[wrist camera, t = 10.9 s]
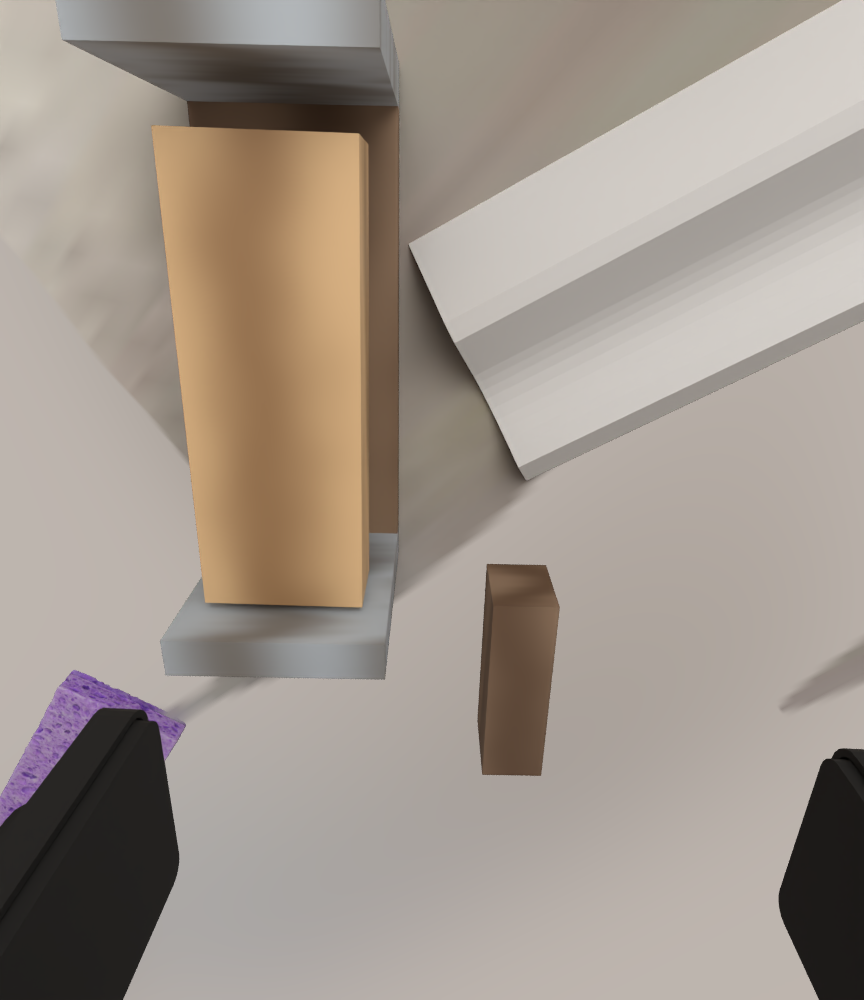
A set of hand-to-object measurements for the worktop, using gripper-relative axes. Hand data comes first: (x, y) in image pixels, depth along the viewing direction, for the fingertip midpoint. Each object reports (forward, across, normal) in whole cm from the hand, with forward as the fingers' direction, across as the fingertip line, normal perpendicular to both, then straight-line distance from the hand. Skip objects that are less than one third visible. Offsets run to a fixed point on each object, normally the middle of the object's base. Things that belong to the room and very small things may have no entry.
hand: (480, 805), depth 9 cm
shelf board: (+18, +7, -2) cm, 19 cm away
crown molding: (+24, -14, -10) cm, 29 cm away
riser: (+23, -3, +13) cm, 27 cm away
